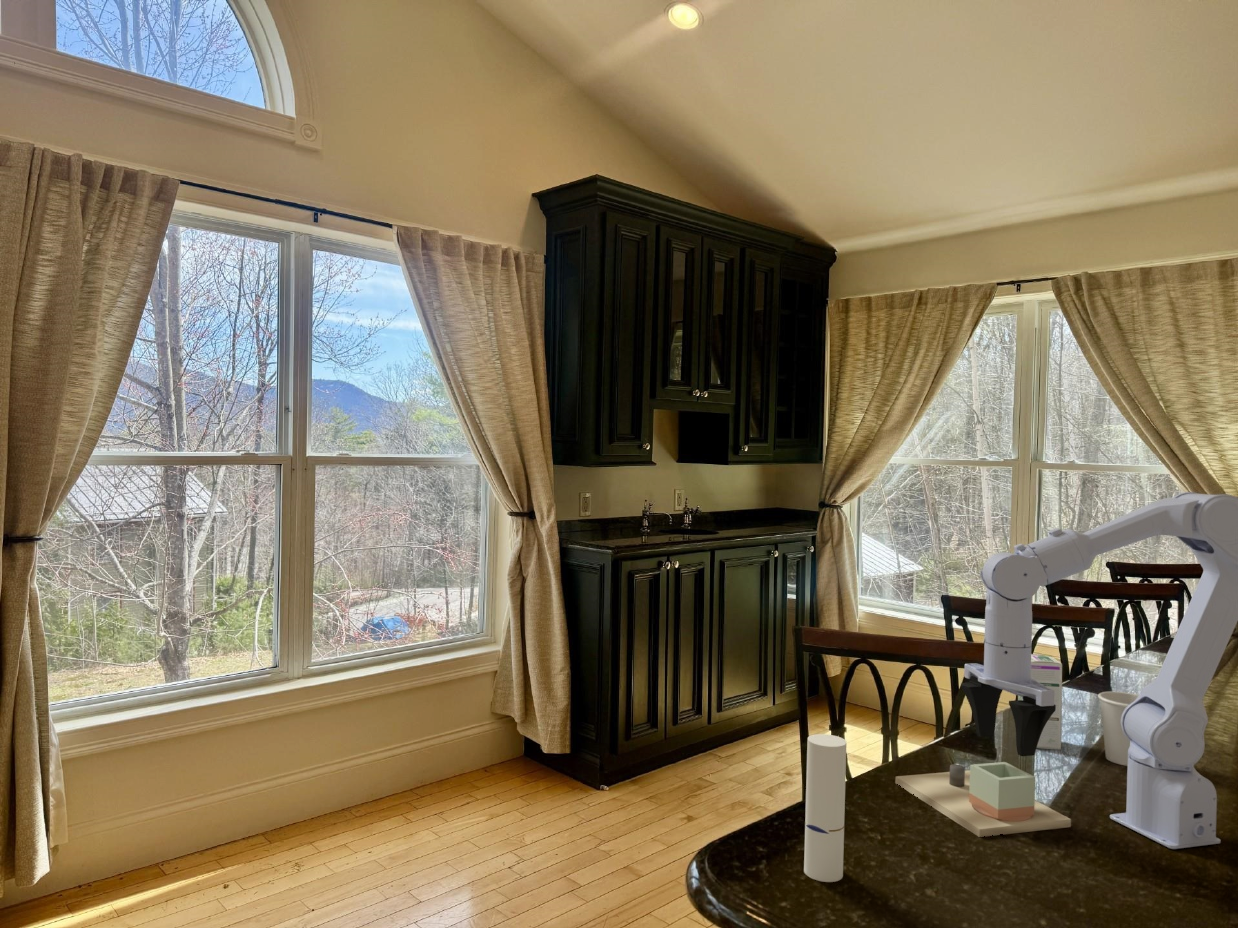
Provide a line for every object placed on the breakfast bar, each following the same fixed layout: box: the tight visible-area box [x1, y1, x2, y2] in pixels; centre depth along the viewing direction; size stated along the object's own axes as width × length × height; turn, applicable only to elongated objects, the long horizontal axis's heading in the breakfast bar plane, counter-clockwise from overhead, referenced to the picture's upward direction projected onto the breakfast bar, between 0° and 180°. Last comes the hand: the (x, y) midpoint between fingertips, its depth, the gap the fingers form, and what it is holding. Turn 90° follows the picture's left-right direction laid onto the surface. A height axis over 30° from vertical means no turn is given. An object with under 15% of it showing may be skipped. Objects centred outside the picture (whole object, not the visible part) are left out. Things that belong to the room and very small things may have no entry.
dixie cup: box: [1097, 691, 1139, 767], centre depth 136 cm, size 8×8×10 cm
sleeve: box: [969, 761, 1036, 819], centre depth 112 cm, size 6×6×5 cm
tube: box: [803, 733, 847, 883], centre depth 96 cm, size 4×4×15 cm
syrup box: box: [1017, 653, 1063, 750], centre depth 143 cm, size 6×6×14 cm
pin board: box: [894, 763, 1072, 838], centre depth 117 cm, size 18×14×4 cm
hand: (1005, 745), depth 113 cm, fingers open, 7 cm apart
